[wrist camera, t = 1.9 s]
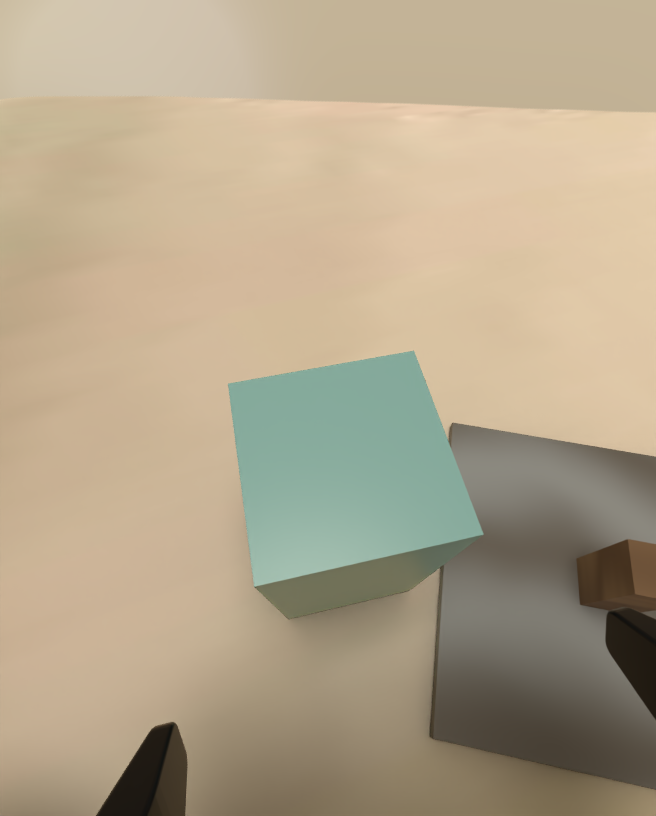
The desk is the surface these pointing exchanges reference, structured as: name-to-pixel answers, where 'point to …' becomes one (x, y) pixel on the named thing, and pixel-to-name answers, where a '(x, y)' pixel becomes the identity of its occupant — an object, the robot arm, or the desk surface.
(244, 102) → the desk surface
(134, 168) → the desk surface
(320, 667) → the desk surface
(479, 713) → the flat grey base tile
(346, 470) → the teal rectangular pillar
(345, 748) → the desk surface
